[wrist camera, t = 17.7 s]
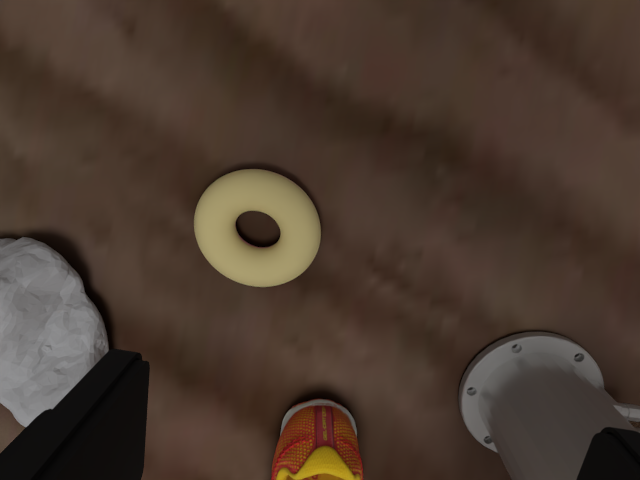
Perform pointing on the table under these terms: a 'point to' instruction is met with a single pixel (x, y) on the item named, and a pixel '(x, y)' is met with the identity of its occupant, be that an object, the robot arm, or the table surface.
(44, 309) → the decorative stone
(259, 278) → the donut
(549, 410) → the robot arm
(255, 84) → the table surface
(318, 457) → the running shoe
